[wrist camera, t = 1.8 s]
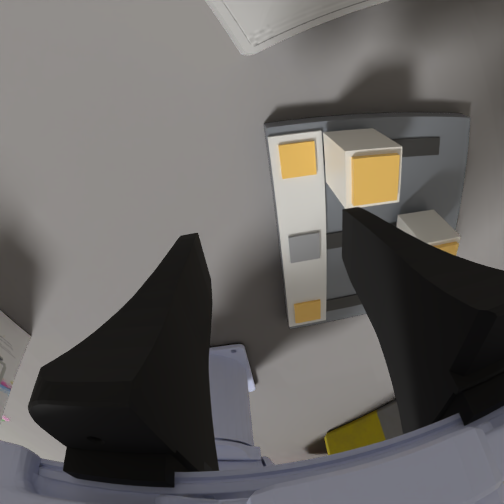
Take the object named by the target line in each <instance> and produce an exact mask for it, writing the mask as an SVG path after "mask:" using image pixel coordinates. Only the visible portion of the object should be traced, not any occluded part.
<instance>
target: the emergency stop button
mask: <svg viewBox="0 0 504 504" xmlns="http://www.w3.org/2000/svg"><path fill="white" fill-rule="evenodd" d="M400 435H403V431H402V426H401V420H400V415H399V410H398V405H397V401H396V400H394V401H392V402H390V403H388V404H387V405H385V406H383V407H381V408H379V409H377V410H375V411H373V412H371V413H369V414H367V415H365V416H363V417H361V418H359V419H357V420H354V421H352V422H350V423H348V424H346V425H344V426H341V427H339V428H337V429H335V430H332V431H330V432H328V433H327V434H326V436H325V438H324V439H325V444H326V448H327V453H328V455H332V454H336V453H340V452H345V451H349V450H353V449H356V448H360V447H364V446H367V445H371V444H374V443H378V442H381V441H384V440H388V439H391V438H394V437H397V436H400Z"/></svg>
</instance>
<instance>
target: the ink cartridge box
mask: <svg viewBox="0 0 504 504" xmlns="http://www.w3.org/2000/svg"><path fill="white" fill-rule="evenodd" d="M30 339H31V336H30V335H29V334H28V333H26V332H25V331H24V330H23V329H22V328H20V327H19V326H18V325H17V324H16V323H14V322H13V321H12V320H11V319H10V318H9V317H8V316H6V315H5V314H4V313H3V312H2V311H1V310H0V423H1V419H2V416H3V412H4V409H5V406H6V403H7V400H8V397H9V394H10V390H11V388H12V385H13V381H14V379H15V376H16V374H17V371H18V368H19V366H20V363H21V360H22V358H23V355H24V353H25V350H26V348H27V345H28V343H29V341H30Z"/></svg>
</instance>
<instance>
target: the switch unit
mask: <svg viewBox="0 0 504 504" xmlns="http://www.w3.org/2000/svg"><path fill="white" fill-rule="evenodd" d="M369 128H373V129H375V130H377V131H378V132H380V133H382V134H383V135H385V136H386V137H388V138H390V139H391V140H393V141H394V142H396V143H398V144H399V145H401V146H402V167H401V184H400V197H399V202H396V203H389V204H381V205H374V206H367V207H361V208H363V209H365V210H367V211H369V212H371V213H372V214H374V215H376V216H378V217H380V218H381V219H383V220H385V221H386V222H388V223H390V224H392V225H394V226H395V227H397V217H398V215H400V214H407V213H414V212H420V211H427V210H435V211H436V212H437V213H438V214H439V215H440V216H441V217H442V218H443V219H444V220H445V221H446V222H447V223H448V224H449V225H450V226H451V227H452V228H453V229H454V230H455V229H456V224H457V219H458V214H459V209H460V203H461V197H462V191H463V185H464V178H465V171H466V163H467V154H468V144H469V132H470V117H468V116H465V115H463V114H461V113H436V112H398V113H368V114H350V115H336V116H324V117H314V118H304V119H295V120H286V121H278V122H271V123H264V130H265V137H266V145H267V152H268V160H269V167H270V175H271V183H272V191H273V199H274V207H275V215H276V223H277V232H278V240H279V249H280V258H281V267H282V276H283V285H284V294H285V304H286V314H287V321H288V325H289V329H293V328H299V327H304V326H309V325H314V324H320V323H325V322H330V321H335V320H339V319H344V318H349V317H353V316H358V315H363V314H367V313H366V311H365V309H364V307H363V305H362V303H361V301H360V299H359V297H358V295H357V293H356V291H355V290H354V288H353V286H352V284H351V282H350V279H349V276H348V274H347V271H346V268H345V265H344V262H343V260H342V209H345V208H344V206H343V205H342V204H341V202H340V201H339V199H338V198H337V197H336V195H335V194H334V192H333V191H332V190H331V188H330V187H329V185H328V184H327V183H326V174H325V155H324V139H323V132H331V131H342V130H354V129H369Z"/></svg>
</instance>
